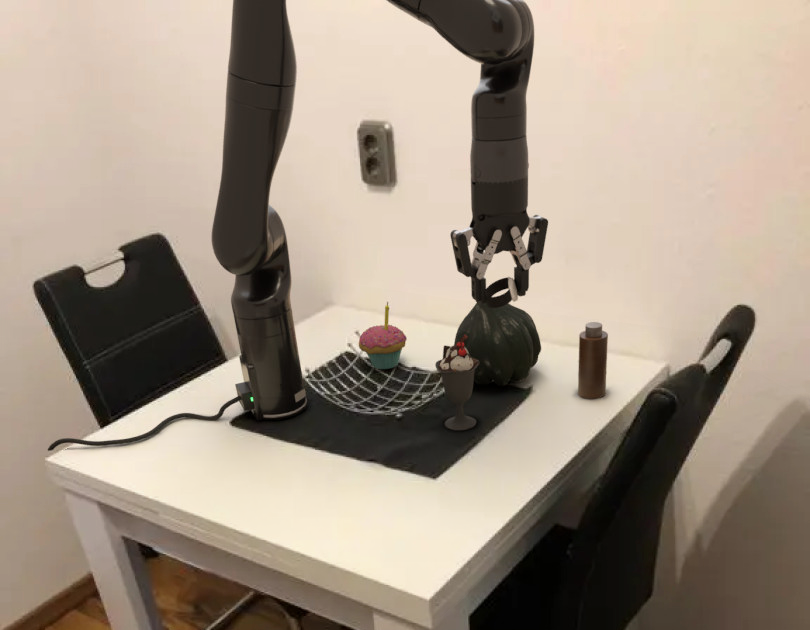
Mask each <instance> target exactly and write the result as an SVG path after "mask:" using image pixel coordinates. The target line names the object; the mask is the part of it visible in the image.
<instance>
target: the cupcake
mask: <svg viewBox="0 0 810 630" xmlns="http://www.w3.org/2000/svg"><path fill="white" fill-rule="evenodd" d="M389 313H390V305H389V301H387V302H386V305H385V306H384V324H383V325H382V324H381V325H374V326H370V327H368V328H367V329H365V330H364V331H363V332H362V333H361V334H360V337H359V341H358V348H359V350H360V351H362V352H364V353H366V355H367V356H368V359H369V361H370V364H371V365H372V367H373V368H374V369H377V370H389V369H393V368H395V367H397V366H398V365H399V363H400V357H401V353H402V350H403V348H405V346H406V342H407V335H406V334H405V333H404V331H403V330H401V329H400V328H398V327H397V326H395V325H392V324H389V317H390V316H389Z"/></svg>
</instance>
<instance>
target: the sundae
mask: <svg viewBox="0 0 810 630" xmlns="http://www.w3.org/2000/svg"><path fill="white" fill-rule="evenodd" d="M464 337H465V339H466V338H467V336H466V335H464ZM464 337H463V338H464ZM463 338H462V339H463ZM462 339H461V341H462V342H461V341H460V342H458V343H457V345H454V344H453V345H451V346H450V345H443V349H442V359H438V360H437V361H436V362H435V364H434V365H435V368H436V370H437V372H439V373H440V376H441V380H442V385H443V390H444V393H445V397H446V399H447V400H448V401H449V402H451V403H453V404H454V405H455V411H456V412H455V415H454V416H452V417H449V418H447V419H446V420H445V422H444V426H445V428H447V429H449V430H452V431H457V432H459V431H467V430H470V429H472V428H474V427H475V426H476V425H477V420H476V419H475V418H474V417H473V416H469V415H466V414H465V412H464V404H465V403H467V402H468V401H469V400H470V399H471V398H472V395H473V390H474V389H473V388H474V372H475V369H476V367H477V366H478V365H479V364H480V362H479V361H478V360H476V359H474V358H472V357H470V355H469V353H468V351H467V349H466V348H465V347H464V343H463V340H464V339H463V340H462Z"/></svg>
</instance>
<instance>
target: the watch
mask: <svg viewBox="0 0 810 630" xmlns="http://www.w3.org/2000/svg"><path fill="white" fill-rule="evenodd" d="M504 290H507V291H506V292H504V293H502V294H499V295H497V296H495V295H496V294H497V293H500V292H502V291H504ZM518 300H519V296H518V294H517V288H516V284H515V281H514V277H510V276H507V277H503V278H500V279H498V280H496V281H495V280H494V282H491V283H490V284H489V286H486V302H487V305H488V306H489V307H491V308H498V307H502V306H504V305H506V304H508V303H509V304H510V303H511V302H513V303H515V302H517V301H518Z"/></svg>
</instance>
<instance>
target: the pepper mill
mask: <svg viewBox="0 0 810 630" xmlns="http://www.w3.org/2000/svg"><path fill="white" fill-rule="evenodd" d="M584 326H585V327H584V330H583V331H581V332H580V333H579V335H578V375H577V395H578V396H579V397H581V398H583V399H589V400H591V399H593V400H594V399H600V398H602V397H604V396H605V395H606V391H607V390H606V388H607V367H608V365H607V364H608V342H609V340H608V339H609V333H608V332H606V331H605V330H603V323H602V322H599V321H591V322H587V323H585V325H584Z"/></svg>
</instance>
